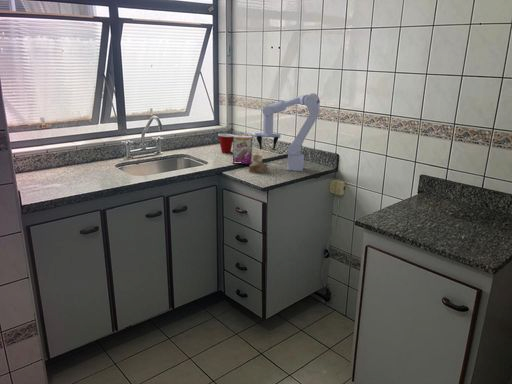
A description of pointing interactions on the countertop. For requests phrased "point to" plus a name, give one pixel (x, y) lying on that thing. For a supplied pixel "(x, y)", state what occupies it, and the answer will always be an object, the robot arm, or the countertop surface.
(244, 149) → the candy bar box
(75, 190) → the countertop surface
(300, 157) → the robot arm
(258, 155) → the maple block
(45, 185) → the countertop surface
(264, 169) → the walnut block
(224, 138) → the plastic cup
